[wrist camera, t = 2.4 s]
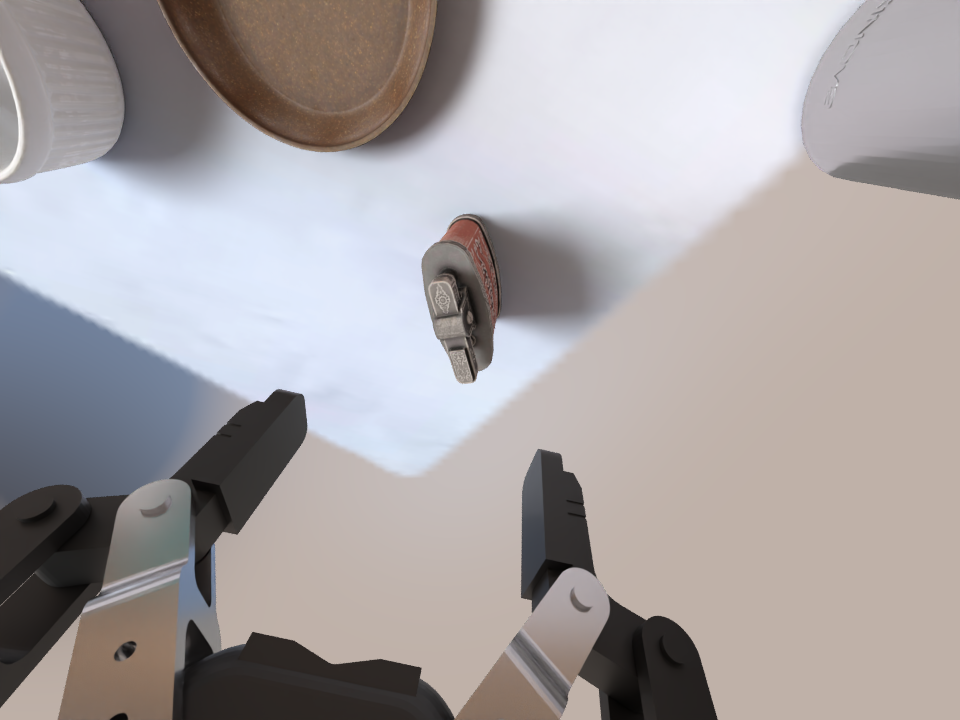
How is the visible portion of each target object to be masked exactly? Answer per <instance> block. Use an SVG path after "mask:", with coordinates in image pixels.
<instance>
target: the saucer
mask: <svg viewBox="0 0 960 720" xmlns="http://www.w3.org/2000/svg"><path fill="white" fill-rule="evenodd" d="M157 2H158V4H159V6H160V9H161V11H162V13H163V16H164V17H165V19H166V21H167V24H168V25H169V27H170V28H171V31H172V33H173V35H174V36H175V38H176V40H177V41H178V43H179V45H180V46H181V48H182V50H183V51H184V53H185V54H186V56H187V57H188V59H189V60H190V62H191V63H192V64H193V66H194V67H195V69H196V70H197V71H198V73H199V74H200V75H201V76H202V78H203V79H204V80H205V81H206V82H207V84H208V85H209V86H210V87H211V88H212V90H213V91H214V92H215V93H216V94H217V95H218V96H219V97H220V98H221V99H222V100H223V101H224V102H225V103H226V104H227V105H228V106H229V107H230V108H231V109H232V110H233V111H234V112H235V113H237V114H238V115H239V116H240V117H242V118H243V119H244V120H245V121H247V122H248V123H249V124H250V125H252V126H253V127H255V128H256V129H258V130H259V131H261V132H263V133H264V134H266V135H268V136H270V137H272V138H274V139H276V140H278V141H280V142H283V143H285V144H288V145H290V146H293V147H297V148H300V149H304V150H309V151H316V152H336V151H342V150H347V149H351V148H355V147H357V146H360V145H362V144H365V143H367V142H369V141H370V140H372V139H374V138H375V137H377V136H378V135H380V134H381V133H382V132H383V131H384V130H386V129H387V128H388V127H389V126H390V125H391V124H392V123H393V122H394V121H395V120H396V119H397V118H398V117H399V115H400V114H401V113H402V112H403V110H404V109H405V107H406V106H407V104H408V103H409V101H410V99H411V98H412V96H413V94H414V92H415V90H416V88H417V86H418V84H419V82H420V79H421V77H422V74H423V71H424V69H425V66H426V63H427V59H428V56H429V52H430V48H431V44H432V39H433V34H434V28H435V20H436V13H437V0H157Z"/></svg>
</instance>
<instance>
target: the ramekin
mask: <svg viewBox="0 0 960 720" xmlns="http://www.w3.org/2000/svg"><path fill="white" fill-rule="evenodd" d="M124 112H125V103H124V95H123V89H122V84H121V80H120V76H119V73H118V70H117V67H116V64H115V61H114V59H113V57H112V54H111V52H110V50H109V48H108V45H107V43H106V41H105V39H104V37H103V36H102V34H101V32H100V30H99V28H98V27H97V25H96V24H95V22H94V20H93V19H92V17H91V16H90V14H89V13H88V11H87V10H86V8H85V7H84V6H83V4H82V3H81V2H80V0H0V184H7V183H15V182H20V181H24V180H26V179H29V178H31V177H32V176H34V175H35V174H36V173H42V172H47V171H52V170H57V169H61V168H66V167H71V166H75V165H79V164H83V163H87V162H90V161H93V160H95V159H97V158H99V157H101V156H103V155H105V154H106V153H107V152H108V151H109V150H110V149H112V147H113V146H114V144H115V143H116V142H117V140H118V137H119V135H120V133H121V129H122V125H123V121H124Z"/></svg>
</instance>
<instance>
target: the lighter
mask: <svg viewBox="0 0 960 720" xmlns="http://www.w3.org/2000/svg"><path fill="white" fill-rule="evenodd" d="M422 274H423V282H424V290H425V296H426V300H427V304H428V308H429V312H430V316H431V319H432V322H433V328H434V331H435V335H436V337H437V338H438V339H440V342H441V344H442V345H443V347H444V349H445V351H446V353H447V354H448V356H449V358H450V361H451V365H452V368H453V371H454V374H455V377H456V379H457V381H458V382H459V383H462V384H468V383H473V382H475V381H476V378H477V373H478V371H482V370H484V369H485V368H487V367H488V366H489V365H490V363H491V361H492V356H493V334H494V328H495V323H496V319H497V318H498V316H499V315H500V310H501V281H500V273H499V266H498V262H497V258H496V255H495V251H494V247H493V244H492V242H491V239H490V237H489V234H488V232H487V229H486V227H485V224H484V223H483V221H482V220H481V219H480V218H479V217H477V216H476V215H472V214H463V215H460V216H458V217H456V218H455V219H454V220H453V221H452V222H451V223H450V225H449V227H448V229H447V233H446V234H445V235H444V236H443V237H442V239H441V240H440V241H439V242H437V243H435V244H433V245H432V246H431V247H430V248H429V249H428V250H427V251H426V253H425V254H424V256H423V258H422Z"/></svg>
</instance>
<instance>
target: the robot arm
mask: <svg viewBox="0 0 960 720" xmlns="http://www.w3.org/2000/svg"><path fill="white" fill-rule="evenodd" d="M801 129H802V138H803V144H804V146H805V148H806V151H807V153H808V155H809V158H810V159H811V160H812V161H813V162H814V163H815V164H816V166H817V167H818V168H819V169H820V170H822V171H824V172H826V173H827V174H829V175H831V176H833V177H836V178H841V179H846V180H850V181H855V182H861V183H867V184H873V185H880V186H885V187H891V188H897V189H901V190H907V191H913V192H919V193H925V194H931V195H937V196H942V197H948V198H954V199H960V0H867V1H866V2H865V3H863V4H862V5H861V6H860V7H859V9H858V10H857V11H856V12H855V13H854V14H853V16H852V17H851V18H850V19H849V20H848V21H847V22H846V24H845V25H844V26H843V27H842V28H841V29H840V31H839V32H838V34H837V35H836V37H835V38H834V40H833V41H832V42H831V44H830V45H829V47H828V48H827V50H826V51H825V53H824V54H823V56H822V58H821V60H820V62H819V64H818V66H817V68H816V70H815V72H814V74H813V76H812V79H811V81H810V84H809V87H808V90H807V94H806V97H805V100H804V103H803V111H802V120H801ZM306 432H307V418H306V409H305V400H304V396H303V395H302V394H299V393H294V392H290V391H286V390H281V389H278V390H276V391H274V392H273V393H272V394H271V395H270V396H269V397H268V398H267V399H266V401H265V402H260V401H256V402H254V403H252V404H250V405H248V406H246V407H244V408H243V409H241V410H239V411H238V413H236V414H235V415H234V416H233V417H232V418H231V419H230V420H229V421H228V422H227V425H224V426H223V427H222V428H221V429H220V430H219V431H218V432H217V434H216V435H214V436H213V437H212V438H211V439H210V440H209V441H208V442H207V443H206V444H205V445H204V446H203V447H202V448H201V449H200V450H199V451H198V452H197V453H196V454H195V455H194V456H193V457H192V458H191V459H190V460H189V461H188V462H187V463H186V464H185V465H184V466H183V467H182V468H181V469H180V470H178V472H176V473H175V474H174V475H173V476H172V477H171V478H169V479H165V480H159V481H155V482H152V483H149V484H147V485H145V486H143V487H141V488H139V489H137V490H136V491H134V492H133V493H132V494H130V495H120V496H106V497H93V498H85V497H84V495H83V494H82V493H81V491H80V490H79V489H78V488H76V487H74V486H70V485H54V486H48V487H44V488H40V489H38V490H34V491H32V492H29V493H27V494H25V495H23V496H21V497H19V498H17V499H16V500H14V501H12V502H11V503H9V504H8V505H7V506H5V507H4V508H3V509H2V510H0V605H1V604H2V603H3V602H4V601H5V600H6V599H7V598H8V597H9V596H10V595H11V594H12V593H14V592H15V591H16V590H17V589H18V588H19V587H20V586H21V585H22V584H23V583H24V582H25V581H26V580H27V579H28V578H29V577H30V576H31V575H32V574H33V573H34V574H33V575H32V576H31V577H30V578H29V579H28V580H27V581H26V582H25V583H24V584H23V585H22V586H21V587H20V588H19V589H18V590H17V591H16V592H15V593H14V594H12V595H11V596H10V597H9V598H8V599H7V600H6V601H5V602H4V603H3V604H2V605H1V606H0V708H1V706H2V705H3V704H4V703H5V702H6V701H7V699H8V698H9V697H10V696H11V695H12V693H13V692H14V691H15V690H16V688H18V686H19V685H20V684H21V683H22V682H23V681H24V679H25V678H26V677H27V676H28V675H29V674H30V672H31V671H32V670H33V669H34V668H35V667H36V665H37V664H38V663H39V662H40V661H41V660H42V658H43V657H44V656H45V655H46V654H47V653H48V651H49V650H50V649H51V648H52V647H53V645H54V644H55V643H56V642H57V641H58V640H59V638H60V637H61V636H62V635H63V634H64V633H65V631H66V630H67V629H68V628H69V627H70V626H71V624H72V623H73V622H74V621H75V620H76V619H77V617H78V616H79V615H80V614H81V613H82V614H81V618H80V622H79V627H78V632H77V636H76V640H75V645H74V649H73V653H72V658H71V662H70V667H69V672H68V676H67V680H66V685H65V689H64V694H63V699H62V703H61V707H60V712H59V716H58V720H560V718H561V716H562V714H563V712H564V709H565V707H566V705H567V701H568V693H569V691H570V688H571V686H572V684H573V683H574V681H575V679H576V677H577V675H579V676H580V677H582V678H583V679H585V680H586V681H588V682H589V683H591V684H592V685H594V686H595V687H597V688H598V689H599V697H600V707H601V719H602V720H718V719H717V716H716V713H715V709H714V705H713V702H712V698H711V695H710V691H709V688H708V684H707V680H706V677H705V673H704V670H703V667H702V663H701V659H700V657H699V653H698V651H697V649H696V647H695V645H694V643H693V641H692V640H691V638H690V637H689V636H688V634H687V633H686V632H685V631H684V630H683V629H682V628H681V627H680V626H679V625H678V624H676V623H675V622H674V621H672V620H670V619H668V618H666V617H662V616H653V617H651V618H649V619H648V620H645V619H643V618H642V617H640V616H638V615H636V614H635V613H633V612H631V611H630V610H628V609H626V608H625V607H623V606H621V605H620V604H618V603H617V602H615V601H614V600H613V599H612V598H611V597H610V596H609V595H608V594H607V593H606V591H605V589H604V587H603V585H602V584H601V583H600V581H599V580H598V579H597V577H596V574H595V571H594V567H593V560H592V553H591V547H590V540H589V534H588V527H587V521H586V519H585V517H586V515H585V508H584V506H583V505H584V501H583V495H582V488H581V487H580V484H579V483H578V481H577V479H576V477H575V475H574V474H573V473H570V472H565V471H563V464H562V457H561V455H560V454H559V453H554V452H550V451H546V450H541V449H538V450H537V452H536V454H535V456H534V459H533V461H532V463H531V465H530V467H529V470H528V472H527V475H526V477H525V480H524V485H523V491H522V566H521V568H522V569H521V571H522V573H521V598H524V599H529V600H532V614H531V616H530V617H529V618H528V620H527V621H526V622H525V624H524V625H523V627H522V628H521V629H520V631H519V632H518V633H517V635H516V636H515V637H514V639H513V640H512V641H511V643H510V644H509V645H508V647H507V648H506V650H505V651H504V652H503V654H502V655H501V656H500V658H499V659H498V660H497V662H496V663H495V664H494V666H493V667H492V669H491V670H490V672H489V673H488V674H487V676H486V677H485V678H484V680H483V681H482V682H481V684H480V685H479V686H478V688H477V689H476V690H475V692H474V693H473V695H472V696H471V697H470V699H469V700H468V701H467V703H466V704H465V705H464V707H463V708H462V710H461V711H460V712H459V714H458V715H457V716H456V718H454V716H453V714H452V712H451V710H450V709H449V708H448V706H447V704H446V703H445V701H444V700H443V699H442V697H441V696H440V695H439V694H438V693H437V692H436V690H434V689H433V688H432V687H431V686H430V685H429V684H428V683H426V682H424V681H423V680H421V679H420V674H421V668H420V667H415V666H411V665H406V664H401V663H396V662H392V661H387V660H382V659H377V660H369V661H360V662H352V663H344V664H331V663H328V662H327V661H325V660H323V659H322V658H320V657H319V656H317V655H316V654H314V653H313V652H311V651H309V650H308V649H306V648H305V647H303V646H302V645H300V644H298V643H297V642H295V641H293V640H288V639H283V638H279V637H274V636H269V635H264V634H260V633H255V632H252V634H251V636H250V637H249V639H248V641H247V643H246V644H242V645H238V646H234V647H230V648H227V649H224V650H222V651H221V636H220V630H219V624H218V620H217V614H216V581H215V580H216V579H215V577H216V576H215V544H214V543H215V541H216V540H217V539H218V537H219V536H220V535H221V533H222V532H228V533H232V534H238V533H239V532H240V530H241V529H242V527H243V526H244V525H245V523H246V522H247V520H248V519H249V518H250V516H251V515H252V513H253V512H254V511H255V509H256V508H257V506H258V505H259V504H260V502H261V501H262V499H263V498H264V496H265V495H266V494H267V492H268V491H269V489H270V488H271V487H272V485H273V484H274V482H275V481H276V479H277V478H278V477H279V475H280V474H281V472H282V471H283V470H284V468H285V467H286V465H287V464H288V463H289V461H290V460H291V458H292V457H293V455H294V454H295V453H296V451H297V450H298V448H299V447H300V446H301V444H302V443H303V441H304V439H305V436H306ZM100 590H101V592H100ZM99 592H100V594H99V595H98V596H96V595H97V594H98V593H99ZM95 596H96V597H95Z"/></svg>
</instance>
